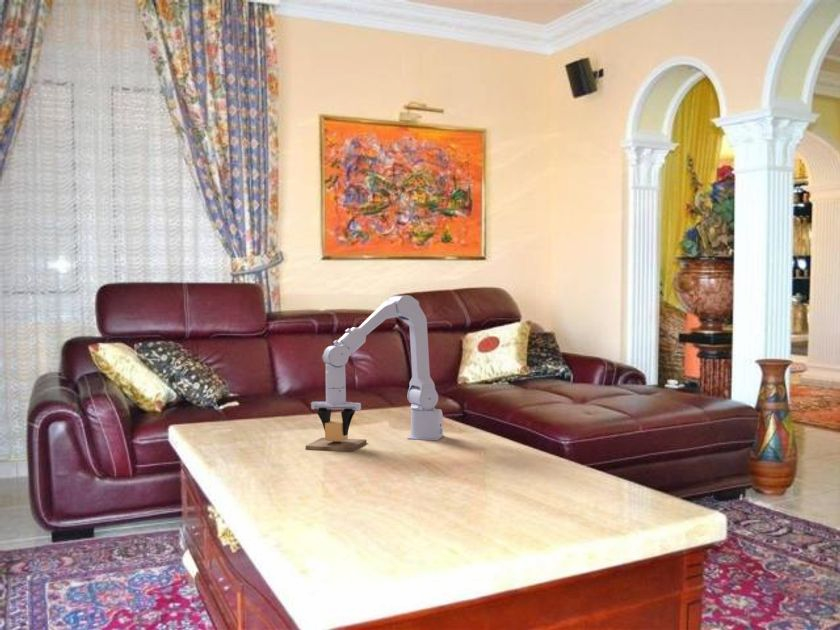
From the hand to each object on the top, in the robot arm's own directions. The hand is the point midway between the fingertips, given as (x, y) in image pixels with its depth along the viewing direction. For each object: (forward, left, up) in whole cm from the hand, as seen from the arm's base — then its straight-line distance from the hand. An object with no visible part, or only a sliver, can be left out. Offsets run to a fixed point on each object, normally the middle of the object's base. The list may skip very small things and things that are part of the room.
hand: (336, 434), depth 213 cm
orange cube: (0, 0, -1) cm, 1 cm away
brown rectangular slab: (0, 0, -3) cm, 3 cm away
